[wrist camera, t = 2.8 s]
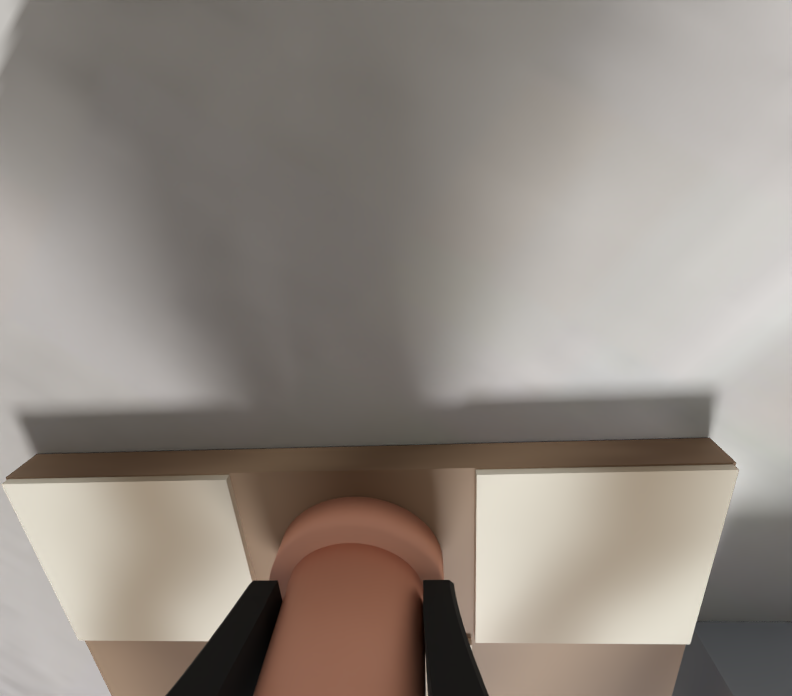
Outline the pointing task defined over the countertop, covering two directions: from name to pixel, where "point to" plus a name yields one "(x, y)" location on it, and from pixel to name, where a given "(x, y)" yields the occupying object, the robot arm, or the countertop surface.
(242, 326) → the countertop surface
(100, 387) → the countertop surface
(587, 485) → the board
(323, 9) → the countertop surface
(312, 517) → the pawn
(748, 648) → the die
